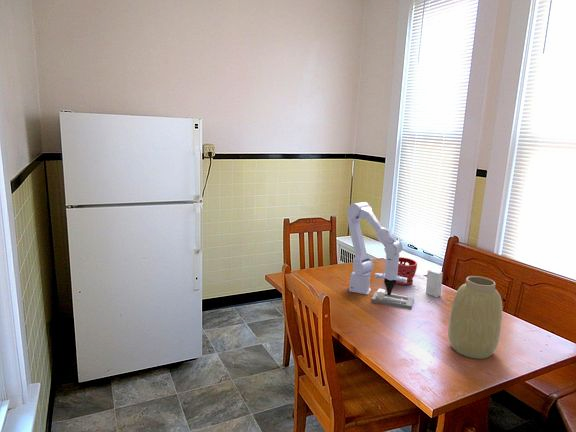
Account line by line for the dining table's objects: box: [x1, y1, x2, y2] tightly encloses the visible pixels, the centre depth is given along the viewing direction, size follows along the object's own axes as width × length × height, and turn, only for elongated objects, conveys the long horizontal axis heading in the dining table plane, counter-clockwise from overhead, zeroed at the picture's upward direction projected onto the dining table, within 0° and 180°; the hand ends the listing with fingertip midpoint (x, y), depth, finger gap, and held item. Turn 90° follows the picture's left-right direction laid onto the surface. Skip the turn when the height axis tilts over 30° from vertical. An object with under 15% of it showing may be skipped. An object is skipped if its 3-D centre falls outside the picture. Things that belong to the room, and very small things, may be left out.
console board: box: [370, 290, 414, 310], centre depth 192 cm, size 18×10×2 cm, turn 68°
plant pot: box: [395, 256, 418, 286], centre depth 216 cm, size 13×13×12 cm
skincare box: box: [425, 268, 444, 298], centre depth 201 cm, size 6×4×12 cm
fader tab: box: [377, 288, 386, 297], centre depth 193 cm, size 3×4×3 cm
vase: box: [447, 275, 503, 360], centre depth 149 cm, size 17×17×27 cm
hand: (389, 294), depth 192 cm, fingers closed
